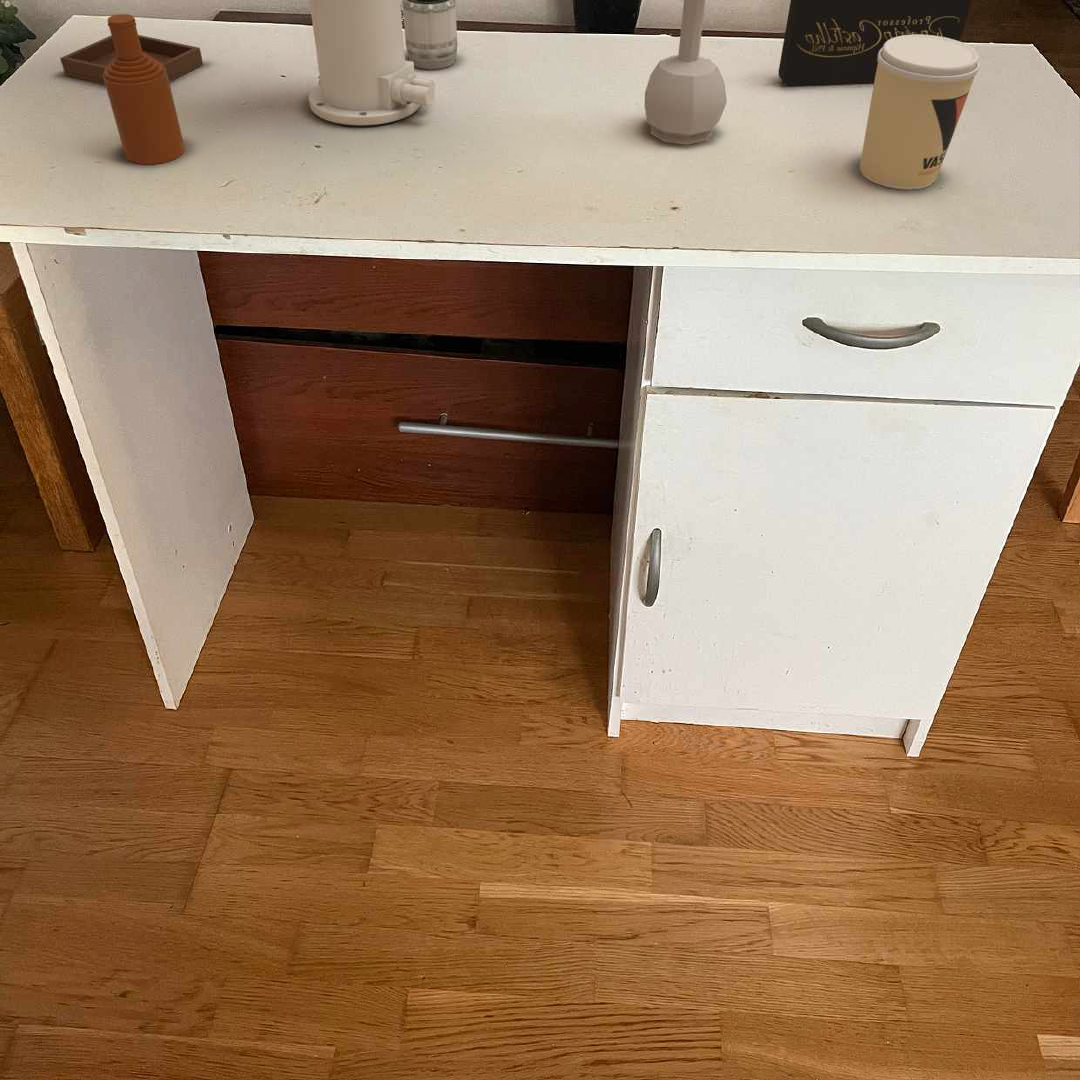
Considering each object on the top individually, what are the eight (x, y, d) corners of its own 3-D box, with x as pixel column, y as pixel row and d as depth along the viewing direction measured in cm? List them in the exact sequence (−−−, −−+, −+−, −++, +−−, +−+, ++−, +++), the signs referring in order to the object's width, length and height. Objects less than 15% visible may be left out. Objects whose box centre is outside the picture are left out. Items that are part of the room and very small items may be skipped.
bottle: (196, 146, 107) (166, 13, 97) (159, 169, 103) (123, 32, 93) (151, 135, 108) (117, 4, 99) (112, 157, 104) (73, 22, 95)
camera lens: (456, 51, 127) (453, -18, 121) (459, 69, 123) (457, -1, 117) (405, 52, 126) (400, -17, 121) (407, 71, 122) (402, 0, 116)
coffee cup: (929, 202, 100) (967, 76, 91) (838, 178, 103) (866, 55, 95) (955, 167, 105) (993, 45, 97) (868, 145, 109) (898, 26, 100)
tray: (203, 64, 123) (199, 47, 121) (146, 94, 116) (141, 76, 115) (125, 48, 126) (120, 30, 125) (65, 75, 120) (59, 57, 118)
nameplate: (942, 74, 124) (967, -16, 116) (948, 80, 122) (975, -11, 115) (776, 80, 121) (792, -11, 114) (781, 87, 120) (797, -5, 113)
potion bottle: (730, 123, 112) (756, -60, 100) (705, 154, 107) (729, -36, 94) (656, 109, 115) (672, -71, 102) (627, 138, 109) (641, -48, 97)
